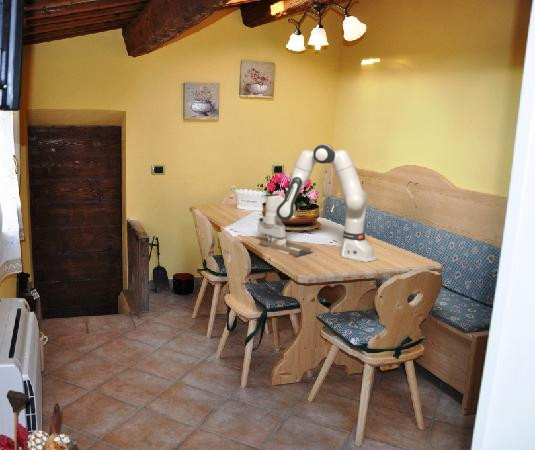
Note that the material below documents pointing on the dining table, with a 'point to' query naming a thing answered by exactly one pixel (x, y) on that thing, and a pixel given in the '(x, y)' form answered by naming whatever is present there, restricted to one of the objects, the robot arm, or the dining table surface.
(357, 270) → the dining table surface
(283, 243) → the block
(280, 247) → the runway
